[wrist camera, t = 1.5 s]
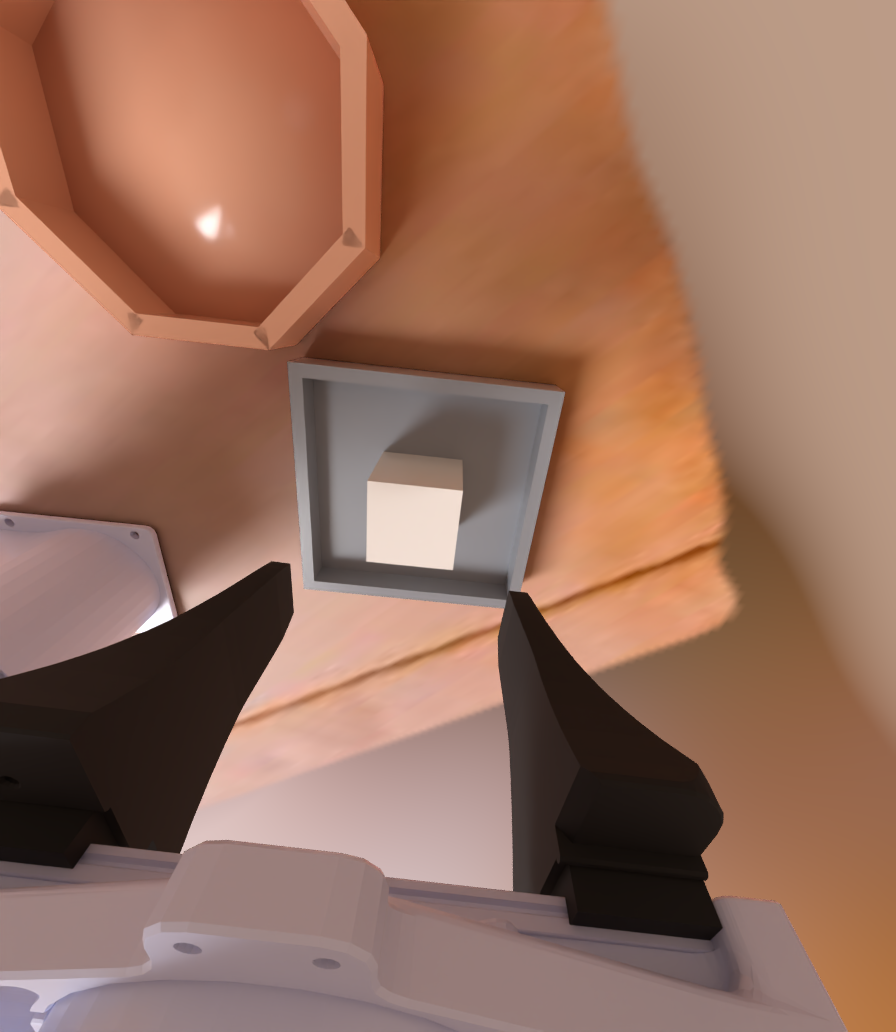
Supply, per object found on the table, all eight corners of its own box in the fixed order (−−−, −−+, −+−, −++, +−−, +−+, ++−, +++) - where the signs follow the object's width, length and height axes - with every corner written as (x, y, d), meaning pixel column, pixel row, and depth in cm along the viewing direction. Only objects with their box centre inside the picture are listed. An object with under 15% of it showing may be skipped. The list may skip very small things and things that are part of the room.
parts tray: (315, 568, 24) (303, 588, 23) (303, 357, 19) (287, 361, 17) (512, 588, 25) (516, 609, 23) (555, 385, 19) (565, 392, 17)
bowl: (95, 322, 19) (34, 324, 16) (-24, -132, 13) (-152, -250, 10) (378, 354, 19) (364, 360, 16) (387, -77, 13) (368, -178, 10)
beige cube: (381, 521, 22) (366, 561, 19) (383, 451, 20) (367, 480, 17) (453, 528, 22) (452, 570, 19) (462, 459, 20) (463, 490, 17)
